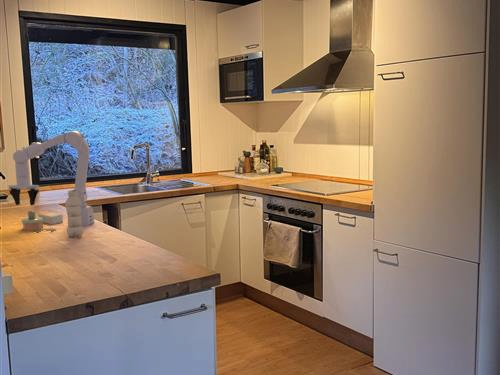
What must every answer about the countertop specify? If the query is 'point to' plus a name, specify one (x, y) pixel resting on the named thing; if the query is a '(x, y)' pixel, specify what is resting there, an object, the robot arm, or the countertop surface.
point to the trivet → (45, 229)
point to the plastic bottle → (74, 214)
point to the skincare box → (51, 217)
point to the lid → (31, 218)
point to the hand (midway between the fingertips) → (25, 204)
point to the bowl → (33, 226)
